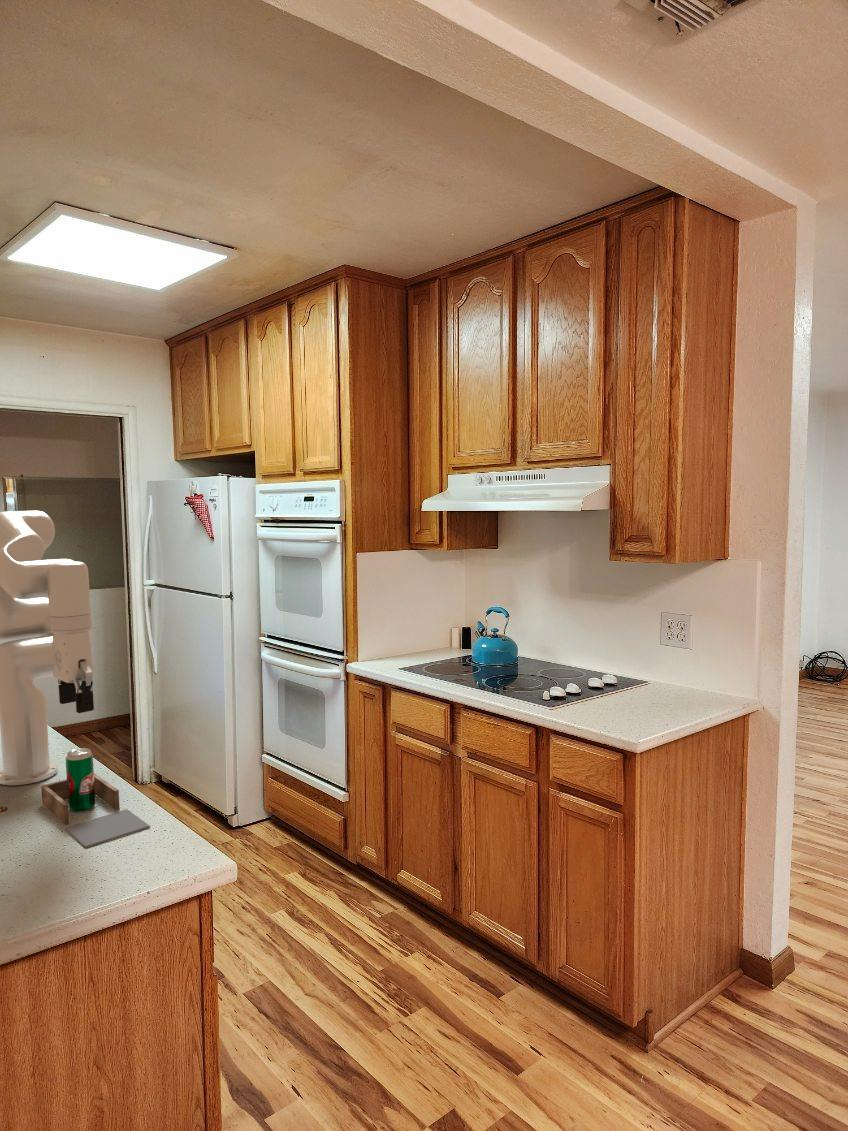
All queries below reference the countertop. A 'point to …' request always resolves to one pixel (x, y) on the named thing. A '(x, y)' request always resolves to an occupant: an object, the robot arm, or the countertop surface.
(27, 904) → the countertop surface
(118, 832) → the mat
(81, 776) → the soda can
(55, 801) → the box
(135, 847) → the countertop surface
